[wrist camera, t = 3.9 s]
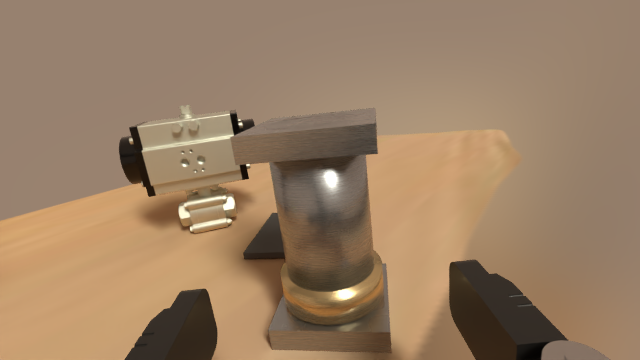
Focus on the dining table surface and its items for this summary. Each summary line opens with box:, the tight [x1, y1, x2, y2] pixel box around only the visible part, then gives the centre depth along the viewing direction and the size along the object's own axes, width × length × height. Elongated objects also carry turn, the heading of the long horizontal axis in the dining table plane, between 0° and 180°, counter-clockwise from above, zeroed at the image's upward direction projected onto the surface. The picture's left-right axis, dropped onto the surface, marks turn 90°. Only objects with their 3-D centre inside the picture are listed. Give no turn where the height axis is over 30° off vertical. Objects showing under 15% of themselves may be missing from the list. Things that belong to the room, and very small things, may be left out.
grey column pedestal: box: [230, 108, 392, 353], centre depth 18 cm, size 6×6×11 cm
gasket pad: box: [243, 213, 285, 259], centre depth 29 cm, size 8×8×1 cm
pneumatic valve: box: [119, 105, 255, 234], centre depth 32 cm, size 6×12×12 cm, turn 105°
